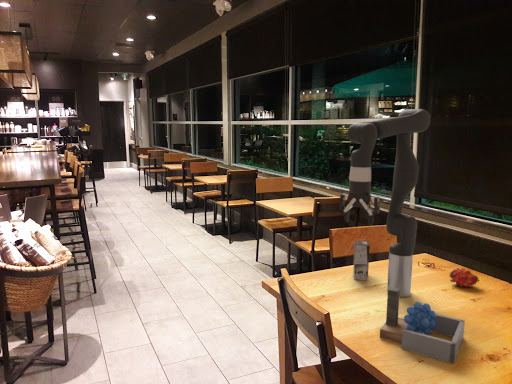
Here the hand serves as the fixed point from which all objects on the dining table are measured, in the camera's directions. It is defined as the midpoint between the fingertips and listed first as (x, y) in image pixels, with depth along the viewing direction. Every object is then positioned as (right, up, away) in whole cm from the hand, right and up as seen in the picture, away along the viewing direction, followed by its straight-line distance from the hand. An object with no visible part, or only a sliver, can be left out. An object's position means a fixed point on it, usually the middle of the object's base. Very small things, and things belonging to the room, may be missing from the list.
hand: (358, 223), depth 148 cm
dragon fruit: (+53, -30, +29) cm, 68 cm away
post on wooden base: (+9, -36, -13) cm, 39 cm away
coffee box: (+11, -28, +40) cm, 50 cm away
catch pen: (+19, -36, -19) cm, 45 cm away
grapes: (+16, -36, -16) cm, 43 cm away
